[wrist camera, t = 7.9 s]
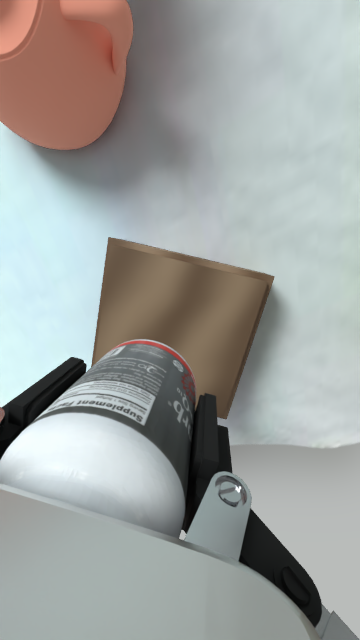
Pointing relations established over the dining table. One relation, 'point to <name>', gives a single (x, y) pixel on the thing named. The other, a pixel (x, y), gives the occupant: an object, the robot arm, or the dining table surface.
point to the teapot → (62, 68)
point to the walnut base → (182, 311)
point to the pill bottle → (115, 439)
